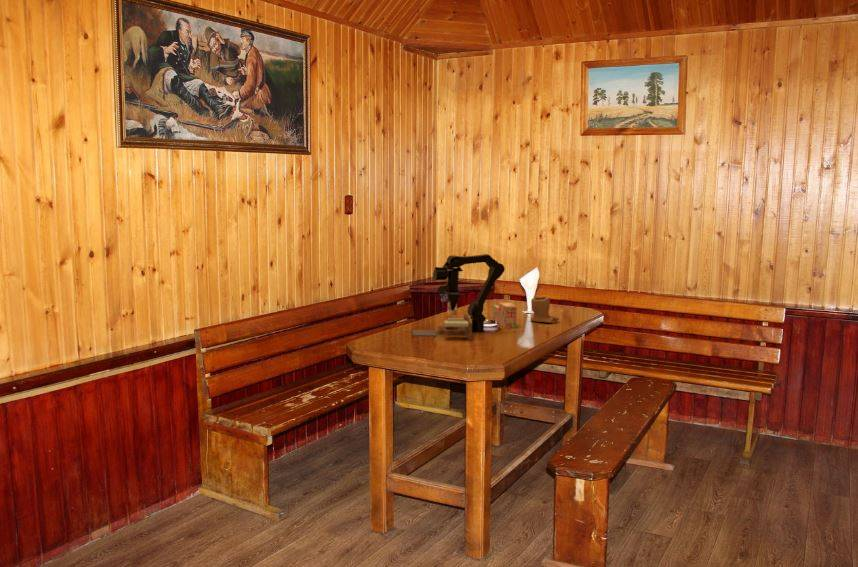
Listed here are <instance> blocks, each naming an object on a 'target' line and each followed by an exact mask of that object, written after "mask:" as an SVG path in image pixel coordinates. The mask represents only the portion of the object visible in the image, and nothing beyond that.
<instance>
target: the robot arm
mask: <svg viewBox="0 0 858 567" xmlns="http://www.w3.org/2000/svg"><path fill="white" fill-rule="evenodd" d="M480 263H485V264H486V265H487V267H488V268H489V269H488V273H487V274H488V275H487V278H486V280H485V282H484V284H483V286H482V287H481V290H480V292H479V293H478V295H477V298H476V299H475V301H470V302H469V305H468V307H467V313H466V314H467V315H468V317H469V319H470V320H471V322H472V333H485V332H484V328H485V327H484V326H485V322H486V319H487V318H486V316H485V315H484V314H483V312H484V305H485V303H486V300H487V298H488V296H489V295H490V292H491V291H492V289H493V287H494V286H495V283H496V281H498V280H499V279H500V277H501V276H502V275H503V274H504V273H505V271H506V270H505V266H504V264H503V263H500V262H499V261H497V260H495V259H494V258H493V257H492V256H491V255H490V254H487V253H483V254H476V255H468V256H463V255H462V256H461V255H448V257H447V258H446V262H445V263H444V264H443V266H441V267H439V266H435V267H434V269H433V272H432V277H433V280H434V281H446V280H447V281H446V283H445V284H442V285H439V286H436V292H438V295H441V294H442V293H445V295H446V296H447V299H448V300H449V301H448V302H450V303H451V310H454V308H455V306H456V304H457V305H458V302H459V300H460V299H461V294H460V291H459V285H460V282H459V279H460V277H459V276H460V272H463V271H464V270H463V269H462V268H461V267H462V266H464V265H469V264H480Z"/></svg>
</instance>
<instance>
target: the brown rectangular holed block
mask: <svg viewBox="0 0 858 567" xmlns="http://www.w3.org/2000/svg"><path fill="white" fill-rule="evenodd" d="M463 318H464V321H468V323H469V326H445V325H438V326H437V331H438V335H440V336H441V335H443V336H444V335H452V336H453V335H455V336H456V335H458V336H459V335H460V336H461V335H462V336H466V338H467V340H468V341H473V340H472V338H473V336H472V335H473V332H472V319H471V318H470V316H469V315H468V313H466V314H464V317H463Z"/></svg>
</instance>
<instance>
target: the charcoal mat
mask: <svg viewBox="0 0 858 567" xmlns="http://www.w3.org/2000/svg"><path fill="white" fill-rule="evenodd" d="M437 336H438V334H437V331H436V330H435V329H433V330H432V329H431V330H430V329H429V330H428V329H427V330H426V329H413V330H412V337H413V338H415V337H434V338H435V337H437Z"/></svg>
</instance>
